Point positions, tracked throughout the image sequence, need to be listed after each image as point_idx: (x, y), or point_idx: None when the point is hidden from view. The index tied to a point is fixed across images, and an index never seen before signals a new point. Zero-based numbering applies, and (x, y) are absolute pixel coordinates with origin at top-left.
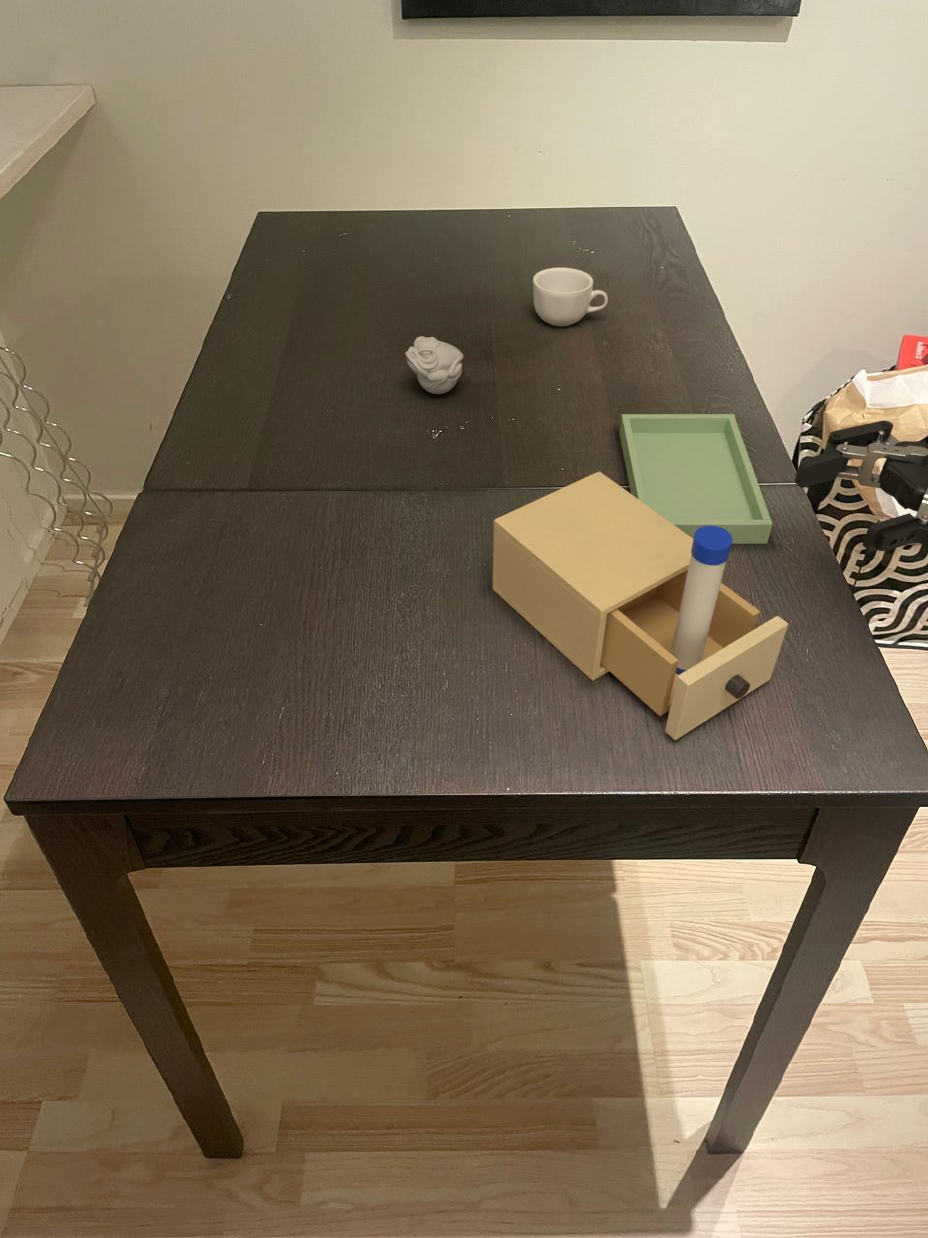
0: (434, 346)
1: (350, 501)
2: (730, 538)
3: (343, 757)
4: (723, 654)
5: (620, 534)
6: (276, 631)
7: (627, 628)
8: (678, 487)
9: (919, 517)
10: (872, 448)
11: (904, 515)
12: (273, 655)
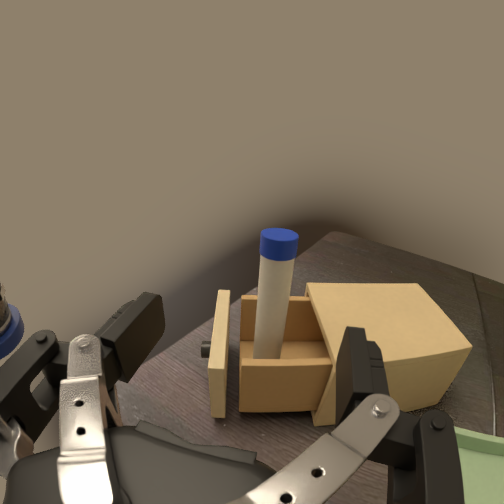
0: None
1: (473, 313)
2: (269, 237)
3: (307, 266)
4: (222, 315)
5: (387, 324)
6: (386, 273)
7: (289, 296)
8: (486, 487)
9: (93, 335)
10: (339, 445)
11: (120, 332)
12: (372, 269)
